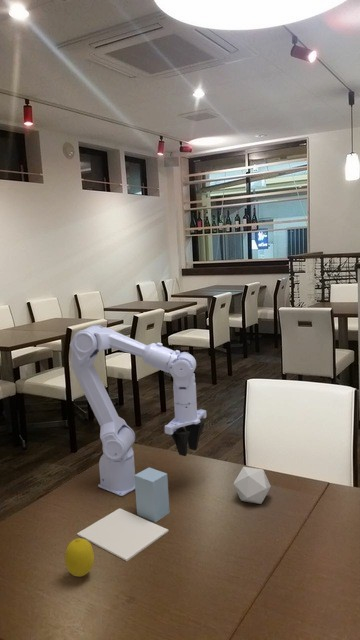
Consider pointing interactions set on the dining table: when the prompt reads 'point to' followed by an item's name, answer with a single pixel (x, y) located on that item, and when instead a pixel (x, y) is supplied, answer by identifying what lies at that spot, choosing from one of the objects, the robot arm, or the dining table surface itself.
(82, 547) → the lemon
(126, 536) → the mat
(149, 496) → the block
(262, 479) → the die
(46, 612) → the dining table surface
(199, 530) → the dining table surface
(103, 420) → the robot arm
